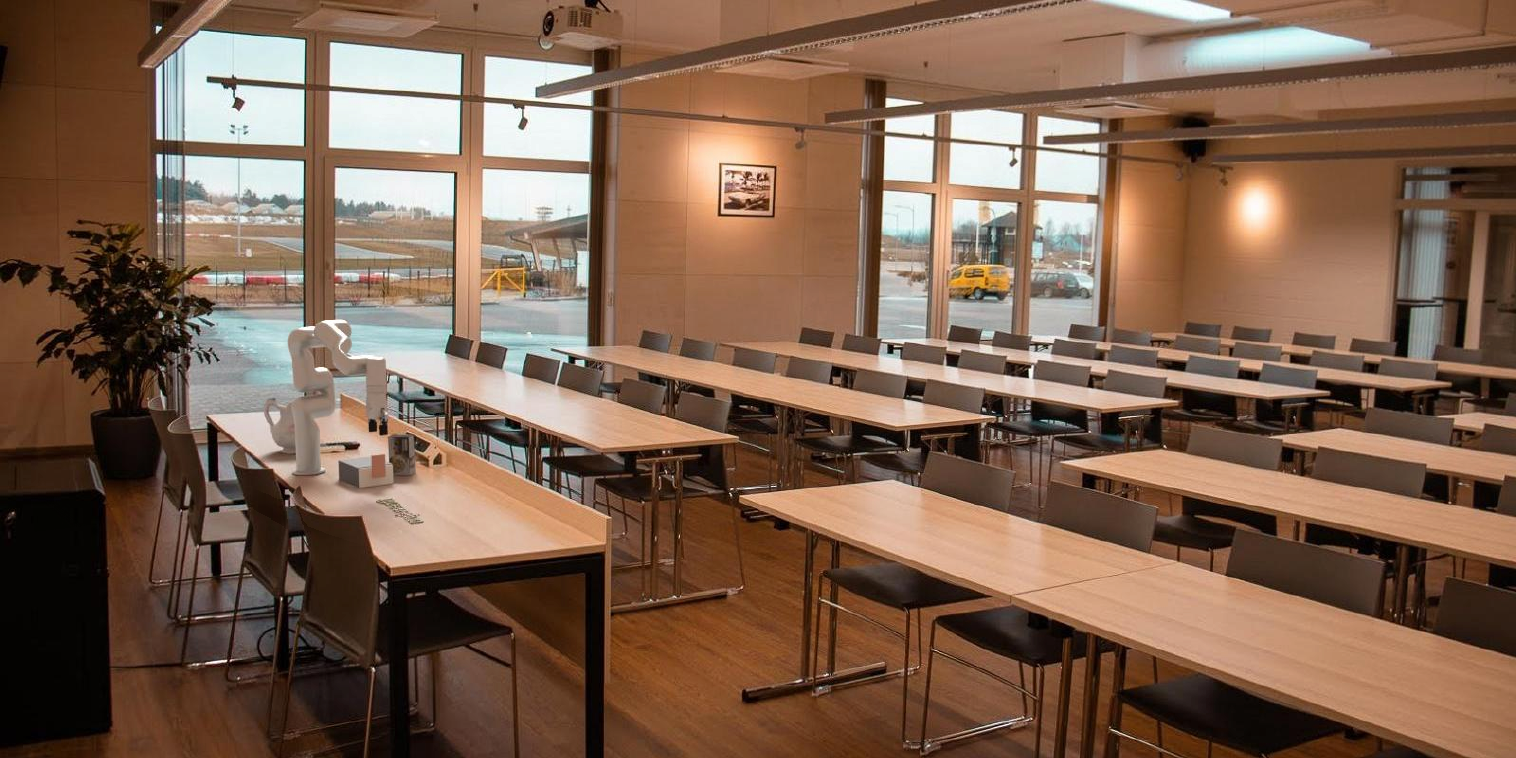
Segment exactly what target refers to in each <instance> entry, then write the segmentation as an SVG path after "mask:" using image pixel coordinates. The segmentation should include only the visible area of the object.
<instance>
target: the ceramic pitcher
mask: <svg viewBox="0 0 1516 758" xmlns="http://www.w3.org/2000/svg"><path fill="white" fill-rule="evenodd" d="M276 399H277V398H275V397H269V398H267V400H266V402H265V403H264V406H263V414H264V417H265V419H266V422H267V423H268V425H269V428H270V429H269V430H270V433H271V438H272V440H273V443H275V444H276V445H277V446H278V447H280V448H283V449H282V450H281V451H280V453H282V452H283V453H282V454H289V455H291V454H296V445H295V426H294V419H293V414H292V410H291V405H292V402H293V401H294V400H291V401H289V402H288V403H286V405H283V404H279V403H278V402H277V401H276ZM270 407H275V408H276V409H277V410H279V415H280V416H279V417H280V418H279V420H278V421H277V422H276V423H274V420H273V419H272V416H271V414H270Z"/></svg>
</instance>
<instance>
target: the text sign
mask: <svg viewBox="0 0 1516 758" xmlns="http://www.w3.org/2000/svg"><path fill="white" fill-rule="evenodd" d="M375 502H376V503H377V504H379V505H385V506H386V507H387V506H390V507H389V508H388V509H390V508H392V509H391V510H393V511H392V512H396V513H394V514H395V515H394V517H399V516H398V515H401V516H406V517H402V518H405V519H404V520H409V521H407V523H409V524H410V523H417V524H422V523H421V522H425V521H424V520H423V519H420V517H419V516H420V513H415V514H413V512H410V510H409V509H408V508H406V507H404V505H401V503H399V502H398V501H396V500H395V499H393V498H384V499H382V498H381V499H376V500H375ZM396 506H397V507H396ZM398 506H400V507H398ZM401 508H403V509H401ZM395 509H398V510H395ZM403 510H406V511H403ZM398 511H401V512H398ZM408 511H409V512H408ZM405 512H407V513H405ZM397 513H398V514H397ZM402 513H403V514H402ZM407 514H413V515H407ZM416 515H419V516H416ZM401 516H400V517H401ZM412 516H415V517H412ZM408 518H416V519H408ZM417 519H418V520H417ZM410 521H417V522H410ZM419 522H420V523H419Z"/></svg>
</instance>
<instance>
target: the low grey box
mask: <svg viewBox="0 0 1516 758" xmlns="http://www.w3.org/2000/svg"><path fill="white" fill-rule="evenodd" d="M337 463H338V480H339V481H340V482H343V483H345V484H348V485H349V486H352V487H354V488H357V489H360V488H359V469H362V468H370V467H372V460H371V456H364V457H357V458H356V457H355V458H347V459H340V460H338V462H337ZM386 465H392V463H389V461H386V460H385V466H386ZM387 485H388V484H386V485H385V486H387ZM379 486H381V485H378V486H377V487H379ZM371 487H374V486H371ZM371 487H370V488H371ZM364 488H366V487H364ZM364 488H363V489H364Z"/></svg>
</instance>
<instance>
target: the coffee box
mask: <svg viewBox="0 0 1516 758" xmlns="http://www.w3.org/2000/svg"><path fill="white" fill-rule="evenodd" d="M415 443H416V442H415V433H414V434H413V433H392V434H390V435H389V436H388V435H387V444H388V445H387V447H388V462H389V463H392V465H393V476H412V475H414V474H416V471H417V470H416V444H415Z"/></svg>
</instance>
